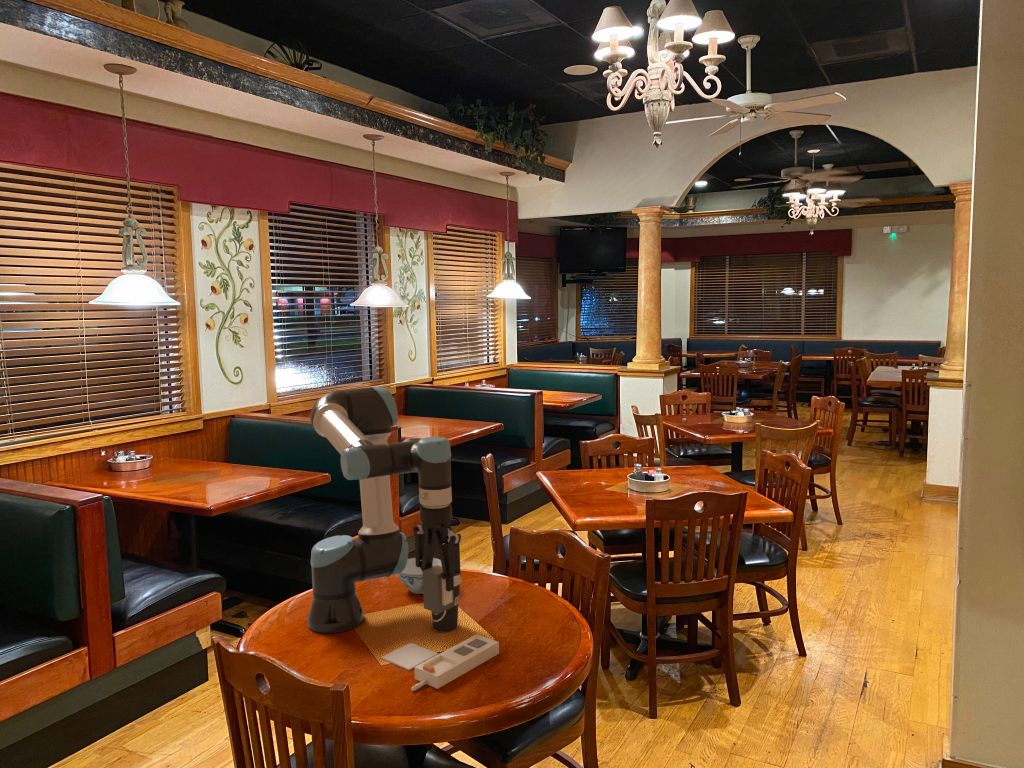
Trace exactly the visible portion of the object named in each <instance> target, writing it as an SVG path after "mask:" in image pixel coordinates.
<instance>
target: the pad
mask: <svg viewBox="0 0 1024 768" xmlns="http://www.w3.org/2000/svg"><path fill="white" fill-rule="evenodd" d="M438 654H439V653H437V652H435V651H433V650H430V649H427V648H424V647H422V646H419V645H417V644H415V643H412V642H409V643H407V644H405V645H403V646H401V647H398V648H397V649H395V650H393V651H390V652H389V653H386V654H385V655H383V656H381V658H380V660H383V661H386V662H388V663H390V664H392V665H395V666H398V667H400V668H402V669H404V670H406V671H410V670H412V669H415V667H416V666H417V665H419V664H421V663H423V662H425V661H427V660H429V659H431V658H433V657H435V656H436V655H438Z"/></svg>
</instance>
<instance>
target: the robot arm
mask: <svg viewBox="0 0 1024 768" xmlns="http://www.w3.org/2000/svg"><path fill="white" fill-rule="evenodd" d="M393 396H394V395H392V392H391V391H390V390H389V389H388V388H386V387H383V386H382V387H380V386H379V387H378V386H376V387H375V386H374V387H373V386H371V387H363V388H362V387H361V388H349V389H337V390H331V391H329V392H327V393H325V394H323V395H322V396H321V397H319V398H318V399H317V400H316V402H314V404H313V405H312V408H311V411H310V417H309V418H310V420H309V421H310V423H311V426H312V428H313V429H314V430H315V432H316V433H317V434H318V435H319V436H321V437H322V438H326V440H328V442H329V443H330V444H331V445H332V446H333V448H335V450H336V451H337V452H338V454H340V468H341V472H342V475H343V477H344V478H345V479H347V481H353V480H359V491H360V502H361V504H360V505H361V515H362V516H361V517H362V527H361V528H360V529H359V531H358V534H357V535H358V539H354V538H353V536H350V535H346V534H342V535H340V534H339V535H333V536H330V537H326V538H324V539H322V540H319V541H318V542H316V544H314V545H313V547H312V549H311V551H310V552H311V554H310V556H311V557H310V565H311V581H312V582H311V583H312V600H311V605H310V608H309V612H308V614H307V627H308V628H309V629H310V630H311V631H313V632H316V633H320V634H321V633H322V634H335V633H342V632H347V631H350V630H352V629H354V628H357V627H358V626H360V625H361V624H362V622H364V610H363V608H362V605H361V602H360V600H359V597H358V594H357V591H356V588H357V587H356V583H360V582H361V583H362V582H365V581H371V580H375V579H381V578H389V577H392V576H395V575H397V574H399V573H401V572H402V571H403V570H404V569H405V567H406V564H407V560H408V559H409V543H408V542H407V541H408V539H407V537H406V535H405V533H404V532H401V531H400V527H399V526H398V525H397V524H396V523H395V522H394V514H393V501H392V500H393V499H392V488H391V476H393V475H394V476H395V475H400V474H401V475H402V474H409V473H416V474H418V493H419V494H418V495H419V496H418V497H419V504H420V506H419V521H420V522H421V524H419V525H416V526H413V527H412V531H413V535H414V544H415V545H414V546H415V547H414V549H415V550H414V552H415V553H414V556H415V557H414V558H415V561H416V567H420V568H421V570H422V571H424V570H426V569H429V568H431V567H434V566H432V563H433V558H435V557H434V556H435V550H437V551H438V553H439V558H440V559H439V560H441V564H442V569H443V574H444V576H443V577H442V578H441V579H442V605H444V606H445V605H447V604H449V603H451V602H453V600H452V590H453V589H454V577H455V576H457V575H459V576H460V575H461V550H460V542H461V539H462V535H461V533H455V532H453V529H452V526H451V522H452V520H453V505H452V504H451V503H452V502H453V496H452V493H453V492H452V459H451V457H452V452H451V451H452V450H451V443H450V440H449V439H448V438H446V437H442V436H428V437H426V436H425V437H423V438H417V437H416V438H415V437H408V438H406V439H404V440H402V441H399V442H398V441H397V442H391V443H388V439H389V437H390V436H391V434H392V428H393V427H395V426H396V425H397V423H398V408H397V403H396V401H395V398H394V397H393ZM420 560H421V561H420Z"/></svg>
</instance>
